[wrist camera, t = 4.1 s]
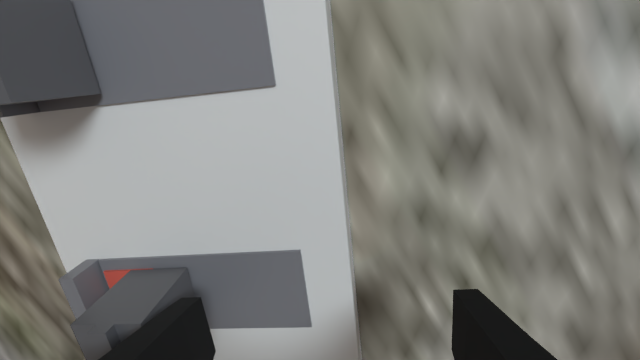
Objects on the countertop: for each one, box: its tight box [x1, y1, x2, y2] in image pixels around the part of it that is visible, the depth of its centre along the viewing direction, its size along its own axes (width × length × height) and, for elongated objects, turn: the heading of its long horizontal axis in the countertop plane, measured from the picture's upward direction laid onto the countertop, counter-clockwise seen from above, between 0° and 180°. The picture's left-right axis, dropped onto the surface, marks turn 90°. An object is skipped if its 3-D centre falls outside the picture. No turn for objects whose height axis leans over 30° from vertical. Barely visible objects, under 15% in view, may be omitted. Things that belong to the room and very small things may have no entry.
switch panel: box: [0, 0, 362, 360], centre depth 12 cm, size 23×10×4 cm, turn 7°
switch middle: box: [70, 268, 195, 360], centre depth 10 cm, size 2×2×3 cm
